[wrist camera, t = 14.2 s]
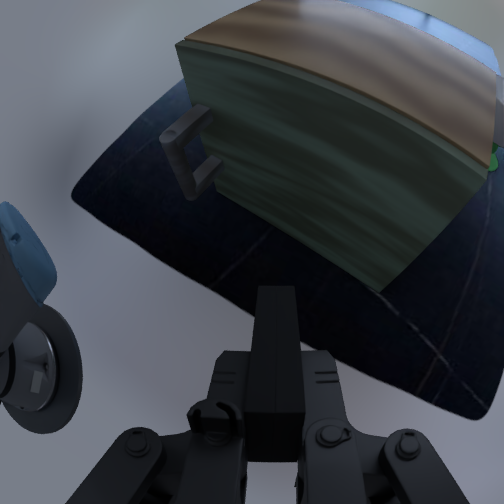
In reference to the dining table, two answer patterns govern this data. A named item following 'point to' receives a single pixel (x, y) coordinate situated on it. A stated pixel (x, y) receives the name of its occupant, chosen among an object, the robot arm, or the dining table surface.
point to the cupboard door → (318, 161)
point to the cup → (498, 122)
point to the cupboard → (371, 63)
